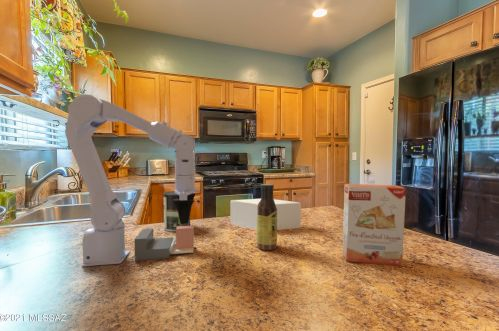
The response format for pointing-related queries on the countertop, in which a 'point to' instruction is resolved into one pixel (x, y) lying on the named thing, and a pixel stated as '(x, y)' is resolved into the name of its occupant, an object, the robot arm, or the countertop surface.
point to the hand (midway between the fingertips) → (185, 219)
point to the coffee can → (171, 212)
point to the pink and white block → (184, 240)
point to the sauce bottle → (267, 219)
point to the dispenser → (152, 246)
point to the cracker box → (374, 223)
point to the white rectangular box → (247, 213)
